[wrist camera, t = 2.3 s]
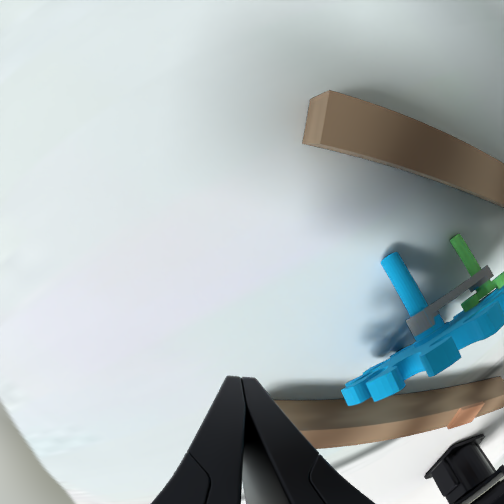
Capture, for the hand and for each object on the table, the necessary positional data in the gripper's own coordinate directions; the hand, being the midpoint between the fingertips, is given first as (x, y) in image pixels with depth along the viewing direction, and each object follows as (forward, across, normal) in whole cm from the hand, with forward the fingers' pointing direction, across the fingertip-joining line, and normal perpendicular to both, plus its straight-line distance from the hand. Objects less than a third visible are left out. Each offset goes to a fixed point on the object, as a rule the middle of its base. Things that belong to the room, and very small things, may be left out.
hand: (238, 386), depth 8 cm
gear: (+7, -10, 0) cm, 12 cm away
